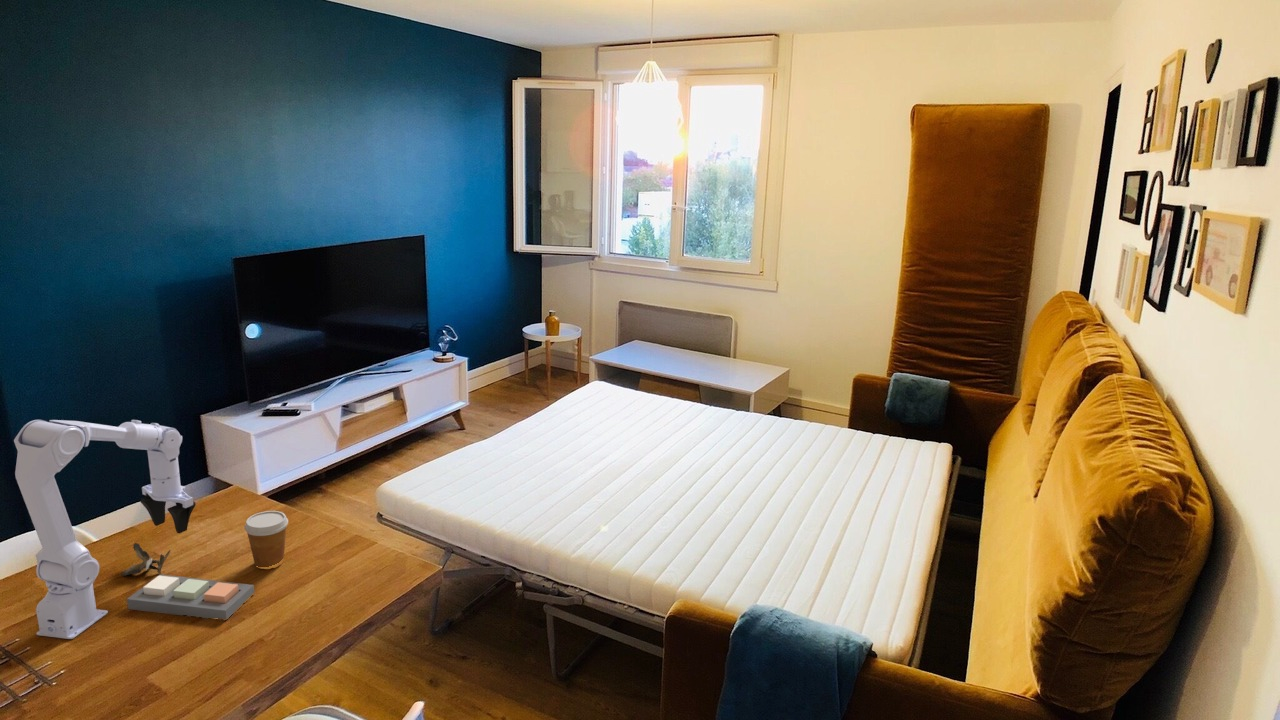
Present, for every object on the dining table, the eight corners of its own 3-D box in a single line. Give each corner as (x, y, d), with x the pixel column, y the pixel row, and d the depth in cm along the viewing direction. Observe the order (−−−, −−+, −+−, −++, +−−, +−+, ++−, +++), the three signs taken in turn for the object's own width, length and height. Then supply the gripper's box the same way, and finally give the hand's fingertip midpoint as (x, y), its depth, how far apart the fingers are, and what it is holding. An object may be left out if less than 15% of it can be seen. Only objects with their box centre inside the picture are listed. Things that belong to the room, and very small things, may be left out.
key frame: (226, 620, 158) (225, 610, 158) (128, 609, 160) (126, 598, 159) (254, 594, 168) (253, 585, 167) (161, 583, 170) (160, 574, 169)
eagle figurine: (175, 557, 179) (137, 549, 178) (167, 544, 173) (128, 535, 173) (157, 586, 173) (118, 578, 173) (149, 574, 168) (109, 565, 167)
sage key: (195, 603, 161) (194, 593, 160) (174, 601, 161) (173, 590, 161) (209, 591, 166) (208, 581, 165) (189, 589, 166) (188, 578, 165)
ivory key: (165, 600, 162) (163, 589, 161) (144, 597, 162) (143, 587, 161) (180, 587, 166) (179, 577, 166) (160, 585, 167) (159, 575, 166)
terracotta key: (225, 607, 161) (224, 596, 160) (204, 604, 161) (203, 594, 160) (239, 594, 165) (238, 584, 164) (218, 592, 166) (217, 582, 165)
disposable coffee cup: (239, 565, 179) (235, 521, 176) (274, 549, 187) (271, 506, 184) (264, 577, 175) (261, 532, 171) (299, 560, 183) (296, 516, 180)
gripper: (202, 475, 173) (207, 527, 176) (159, 462, 178) (165, 513, 181) (174, 486, 166) (180, 540, 170) (130, 473, 171) (137, 525, 175)
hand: (170, 527), depth 175 cm, fingers open, 7 cm apart
